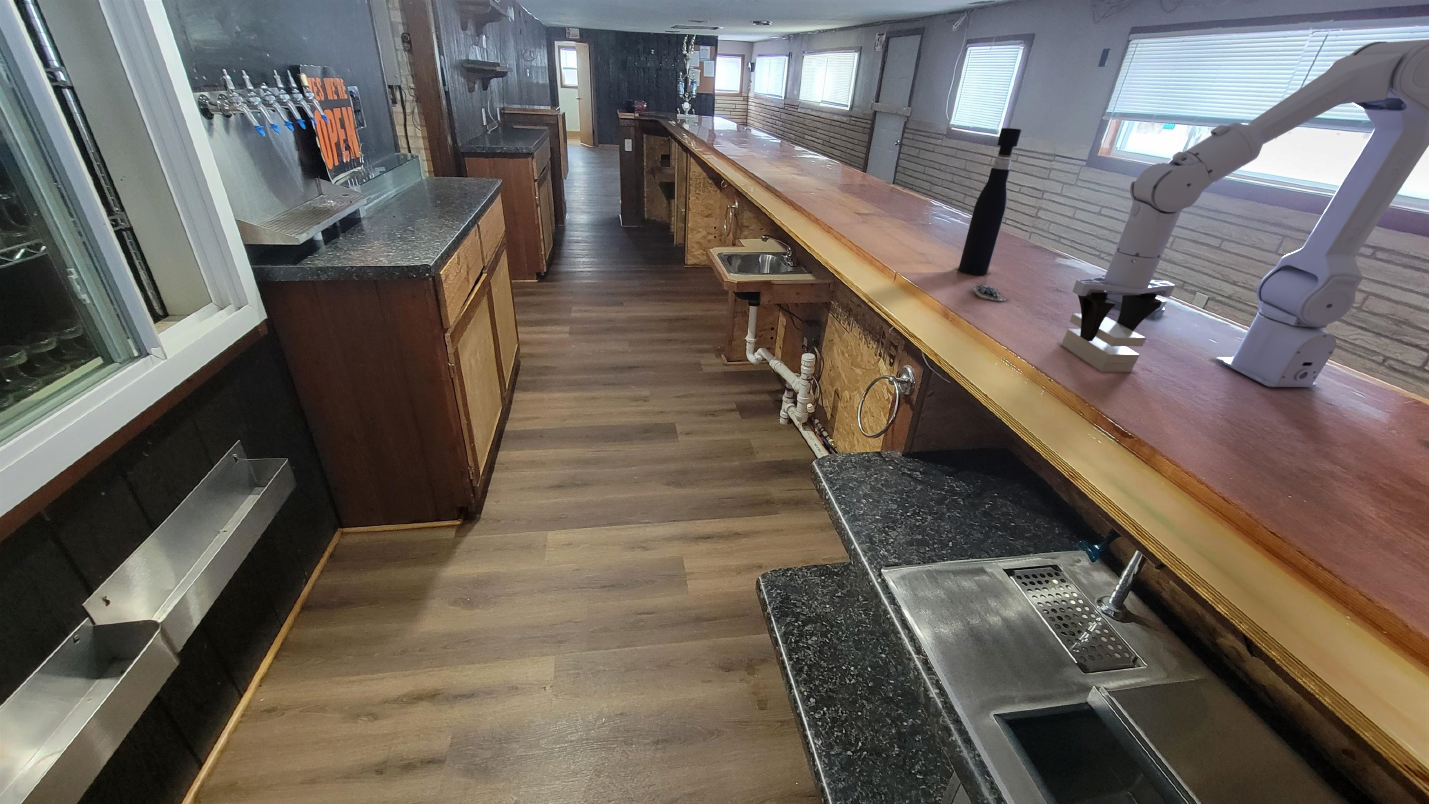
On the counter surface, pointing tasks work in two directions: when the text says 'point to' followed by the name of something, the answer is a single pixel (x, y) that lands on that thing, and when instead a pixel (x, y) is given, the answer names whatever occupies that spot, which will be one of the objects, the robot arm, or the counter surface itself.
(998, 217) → the wine bottle
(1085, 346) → the cream rectangular block
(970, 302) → the counter surface
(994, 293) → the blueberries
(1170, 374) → the counter surface
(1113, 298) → the grey books
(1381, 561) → the counter surface
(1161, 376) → the counter surface
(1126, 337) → the white book
